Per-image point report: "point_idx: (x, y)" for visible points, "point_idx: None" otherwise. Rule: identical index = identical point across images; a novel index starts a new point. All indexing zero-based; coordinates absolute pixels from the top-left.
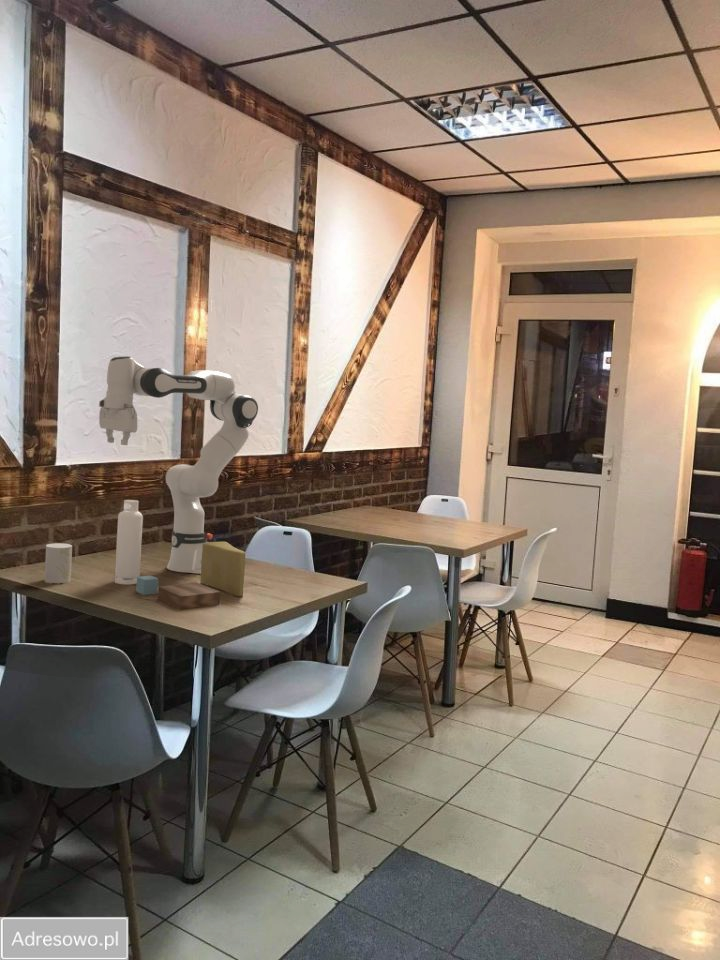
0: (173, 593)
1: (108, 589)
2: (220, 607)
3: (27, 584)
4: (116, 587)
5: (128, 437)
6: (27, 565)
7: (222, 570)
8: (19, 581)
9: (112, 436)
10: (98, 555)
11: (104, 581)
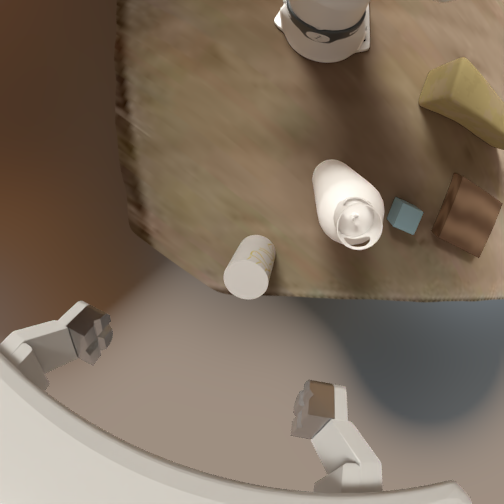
0: (466, 251)
1: None
2: None
3: None
4: None
5: (363, 446)
6: (149, 218)
7: (481, 130)
8: None
9: (59, 333)
10: (142, 86)
11: (306, 204)
